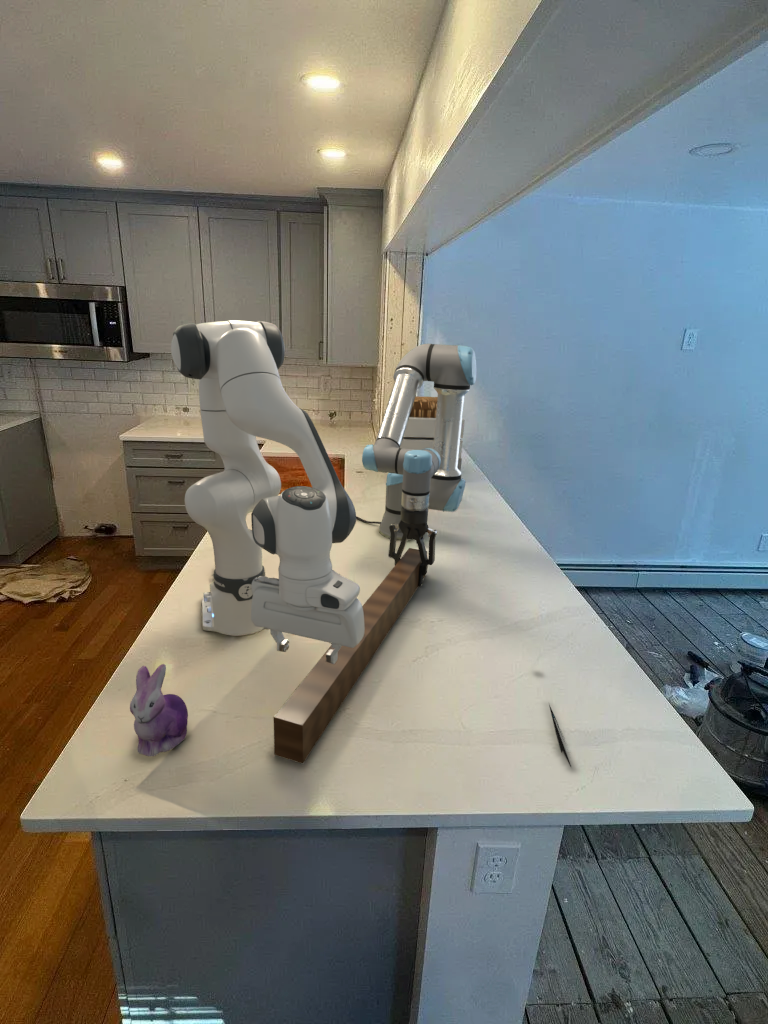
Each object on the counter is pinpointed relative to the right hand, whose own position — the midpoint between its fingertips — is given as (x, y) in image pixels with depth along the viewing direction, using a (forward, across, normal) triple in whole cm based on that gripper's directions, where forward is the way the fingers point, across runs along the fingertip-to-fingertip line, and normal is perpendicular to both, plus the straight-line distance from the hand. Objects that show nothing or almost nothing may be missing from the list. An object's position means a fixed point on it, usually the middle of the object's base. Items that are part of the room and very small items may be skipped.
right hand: (409, 582), depth 164 cm
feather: (0, +43, -43) cm, 61 cm away
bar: (+1, 0, -33) cm, 33 cm away
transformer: (+1, -30, +115) cm, 118 cm away
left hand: (-16, 0, -66) cm, 68 cm away
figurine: (+1, -23, -77) cm, 80 cm away
